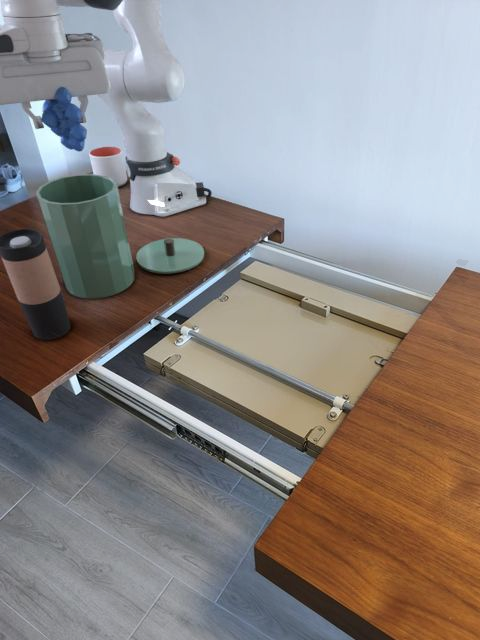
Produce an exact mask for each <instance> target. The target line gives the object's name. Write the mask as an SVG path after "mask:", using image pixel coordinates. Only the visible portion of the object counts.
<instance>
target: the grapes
mask: <svg viewBox="0 0 480 640" xmlns="http://www.w3.org/2000/svg"><path fill="white" fill-rule="evenodd" d="M54 97H55V98H56V99H50V100H44V102H43V104H42V113H41V118H42V123H43V125H45V126H47V127H48V128H49V129H50V131H51V132H52V133H53V134H55V135H56V136H57V137H59V138H60V144H61V145H62V146H64V147H65V148H67V149H69V150H71V151H72V150H74V151H76V152H83V150H84V148H85V146H86V145H85V144H86V140H87V134H88V129H87V128H86V127H85V126H84V125H82V123H79V122H80V120H81V117H82V111H81V110H80V109H79V108H80V107H78V105H76V104H75V103H73V102H72V99H73V97H72V96H71V93H70V92H69V91H68V90H67V89H66V88H64V87H60V88H59V89H58V90H57V91H56V93H55V96H54Z"/></svg>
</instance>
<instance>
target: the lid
mask: <svg viewBox="0 0 480 640" xmlns="http://www.w3.org/2000/svg"><path fill="white" fill-rule="evenodd" d="M135 258H136V263H137V264H138V266H139V267H140V268H142V269H143V270H144V271H146V272H150V273H155V274H165V275H167V274H168V275H169V274H170V275H171V274H177V273H183V272H185V271H189V270H191V269H193V268H195V267H197V266H198V265H200V263H202V261H203V260H204V258H205V250H204V248H203V246H202V245H201V244H200V243H198V242H196V241H195V240H192V239H188V238H182V237H181V238H180V237H170V238H169V237H168V238H167V237H166V238H162V239H157V240H153V241H151V242H148V243H147V244H145V245H143V246H142V247H141V248H140V249H138V251H137V253H136V256H135Z"/></svg>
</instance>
